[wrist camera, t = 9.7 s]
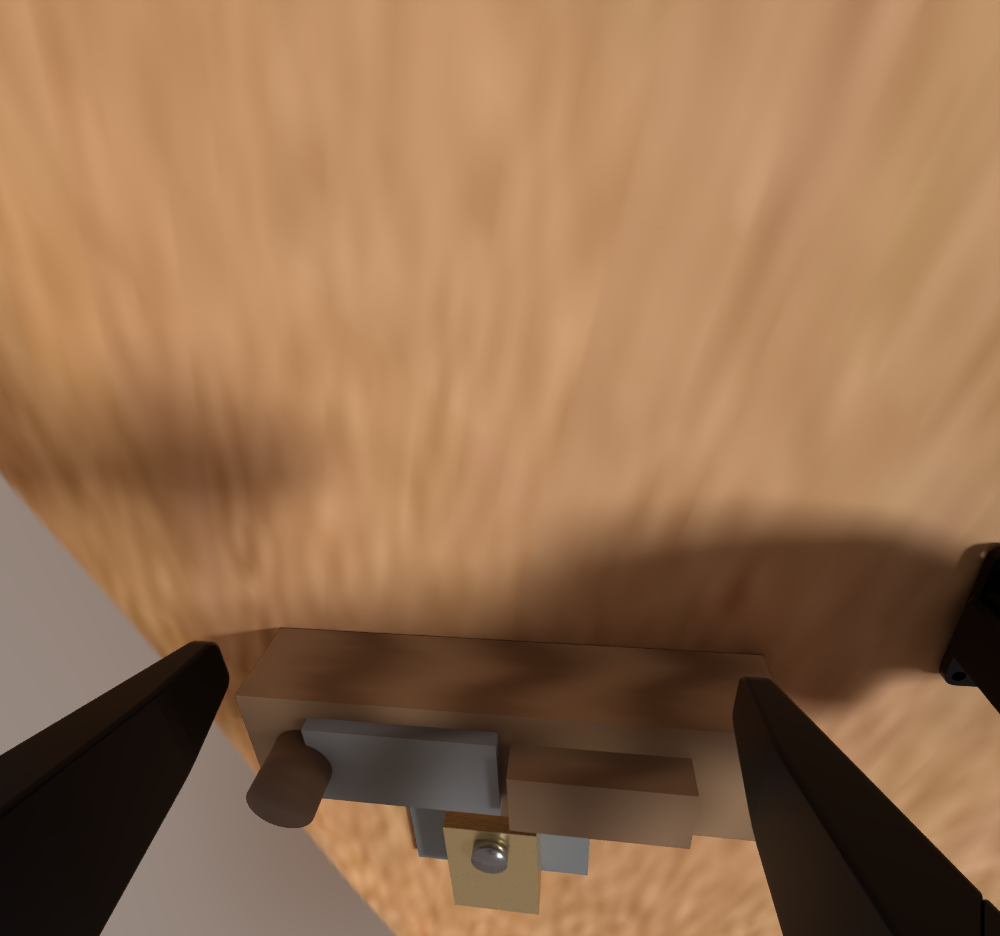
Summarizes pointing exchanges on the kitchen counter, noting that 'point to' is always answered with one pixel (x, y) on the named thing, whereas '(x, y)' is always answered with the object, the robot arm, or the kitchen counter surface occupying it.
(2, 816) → the robot arm
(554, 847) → the mat
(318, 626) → the kitchen counter surface
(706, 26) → the kitchen counter surface
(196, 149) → the kitchen counter surface
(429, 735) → the plane body
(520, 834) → the lever cap
